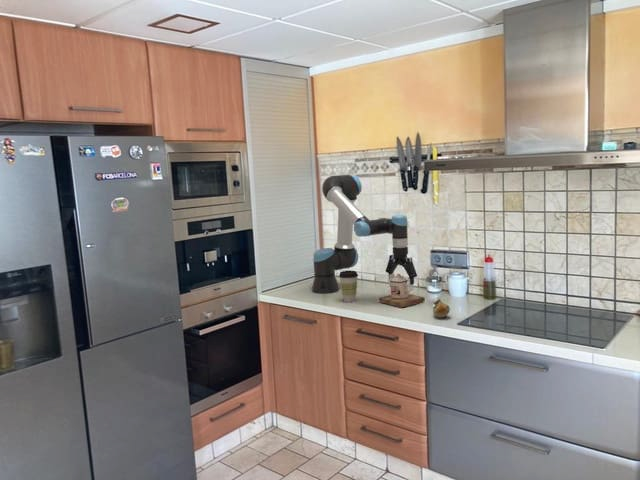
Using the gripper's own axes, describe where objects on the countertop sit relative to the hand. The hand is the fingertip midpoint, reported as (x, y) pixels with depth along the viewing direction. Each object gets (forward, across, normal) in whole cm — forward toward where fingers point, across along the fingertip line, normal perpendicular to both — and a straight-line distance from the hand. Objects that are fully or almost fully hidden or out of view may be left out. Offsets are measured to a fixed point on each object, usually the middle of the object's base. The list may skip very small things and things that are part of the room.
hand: (401, 288), depth 263 cm
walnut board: (+7, 0, 0) cm, 7 cm away
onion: (+7, +31, -6) cm, 32 cm away
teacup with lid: (+5, 0, 0) cm, 5 cm away
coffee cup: (+7, -22, -16) cm, 28 cm away
